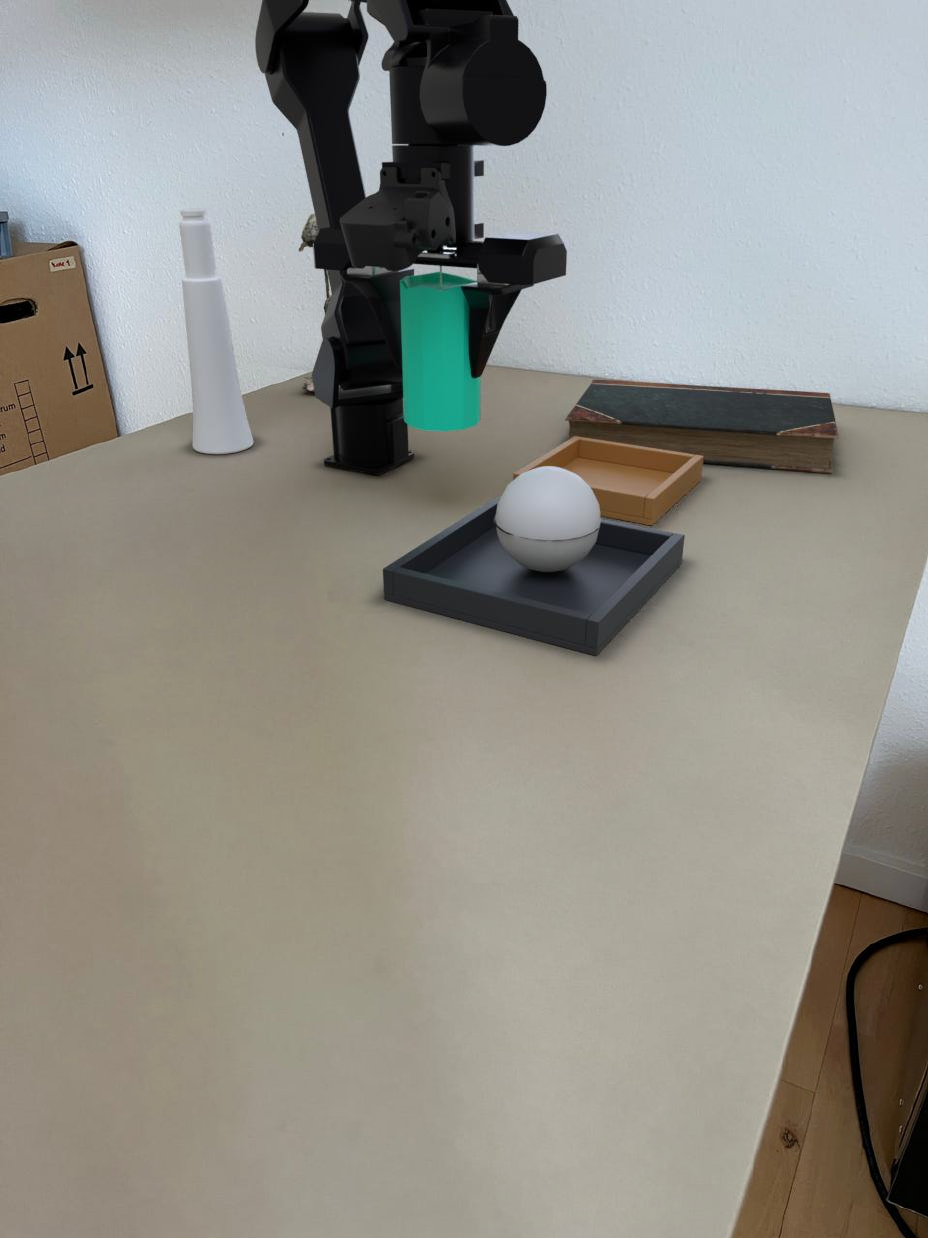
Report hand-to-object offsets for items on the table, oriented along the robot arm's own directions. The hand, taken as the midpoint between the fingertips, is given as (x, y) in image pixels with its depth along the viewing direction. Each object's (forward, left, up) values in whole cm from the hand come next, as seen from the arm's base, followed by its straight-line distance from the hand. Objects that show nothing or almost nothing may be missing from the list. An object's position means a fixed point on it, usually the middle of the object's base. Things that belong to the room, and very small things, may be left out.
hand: (437, 371), depth 72 cm
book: (+12, +31, -12) cm, 36 cm away
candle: (0, 0, -4) cm, 4 cm away
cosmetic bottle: (-29, +6, -12) cm, 32 cm away
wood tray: (+10, +12, -12) cm, 20 cm away
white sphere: (+13, -8, -11) cm, 19 cm away
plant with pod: (-32, +30, -12) cm, 46 cm away
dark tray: (+13, -7, -12) cm, 19 cm away
